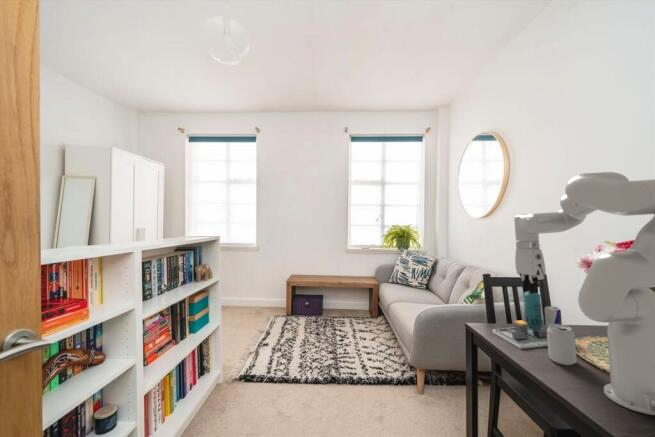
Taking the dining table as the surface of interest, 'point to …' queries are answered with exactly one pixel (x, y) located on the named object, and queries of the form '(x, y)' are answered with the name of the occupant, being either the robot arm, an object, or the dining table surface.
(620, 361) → the robot arm
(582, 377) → the dining table surface
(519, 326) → the handle
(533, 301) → the beverage bottle
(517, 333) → the panel
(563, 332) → the can
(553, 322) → the energy drink
